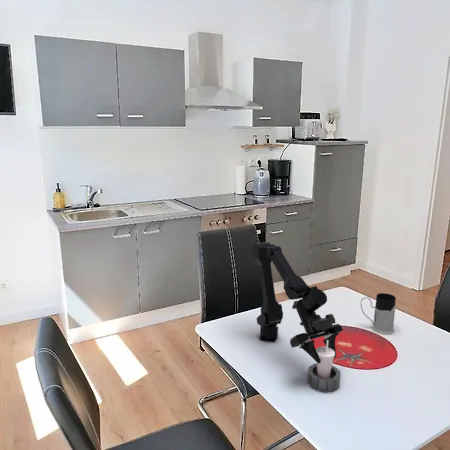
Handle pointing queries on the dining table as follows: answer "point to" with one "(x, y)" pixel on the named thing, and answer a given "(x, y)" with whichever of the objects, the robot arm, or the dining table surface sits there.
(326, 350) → the smoothie
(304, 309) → the robot arm
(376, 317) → the grey mug
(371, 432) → the dining table surface
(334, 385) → the stone ring
